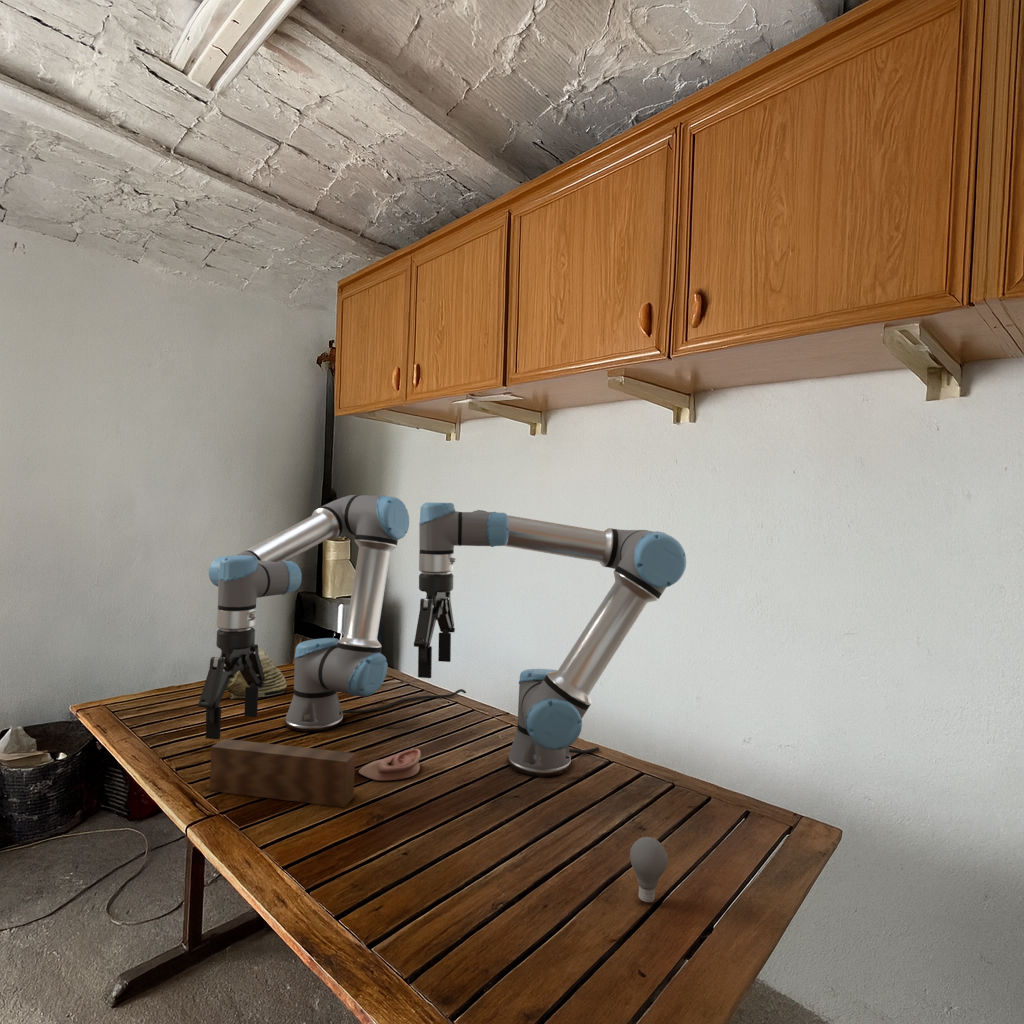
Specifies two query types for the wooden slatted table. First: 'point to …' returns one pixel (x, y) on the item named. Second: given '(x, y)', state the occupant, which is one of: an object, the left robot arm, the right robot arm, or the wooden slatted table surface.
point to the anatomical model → (393, 766)
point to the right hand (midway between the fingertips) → (435, 669)
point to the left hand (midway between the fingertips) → (232, 726)
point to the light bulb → (648, 865)
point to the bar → (282, 772)
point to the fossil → (272, 681)
